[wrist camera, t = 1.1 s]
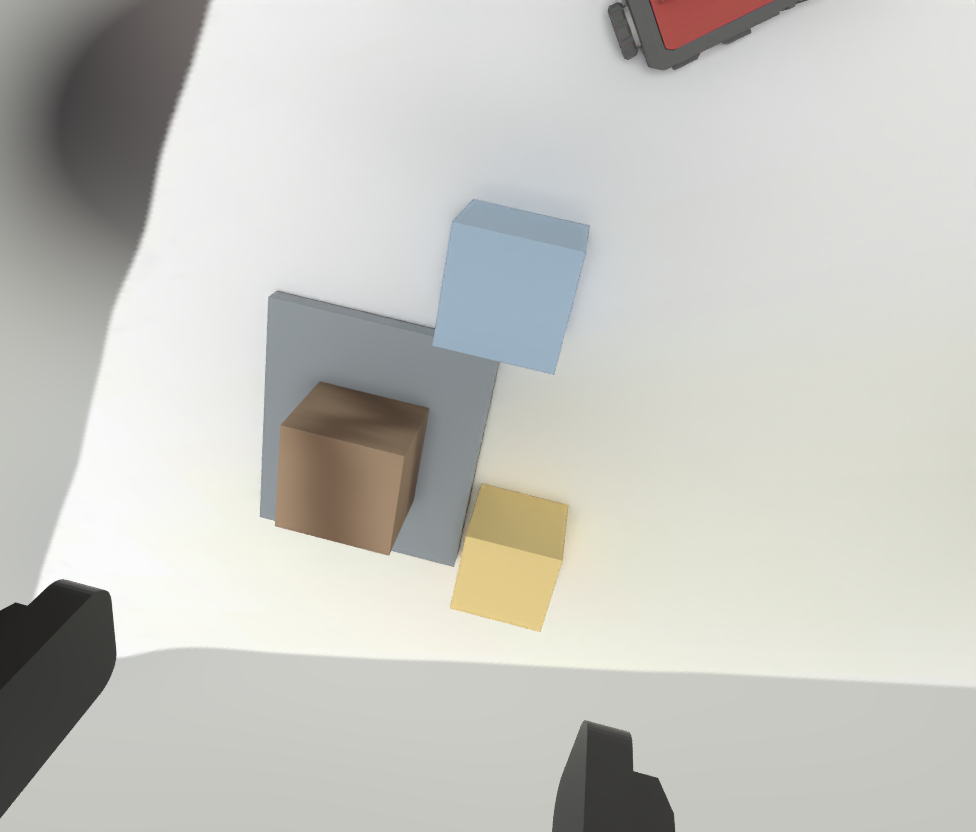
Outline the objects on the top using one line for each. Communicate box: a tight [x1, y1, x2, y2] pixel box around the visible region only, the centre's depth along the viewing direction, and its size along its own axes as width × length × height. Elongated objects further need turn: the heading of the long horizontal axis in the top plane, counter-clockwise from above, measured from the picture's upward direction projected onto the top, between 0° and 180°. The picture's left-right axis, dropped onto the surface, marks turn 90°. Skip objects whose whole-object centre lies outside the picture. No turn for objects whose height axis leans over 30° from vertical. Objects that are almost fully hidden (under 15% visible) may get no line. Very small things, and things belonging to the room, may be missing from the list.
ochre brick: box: [450, 484, 568, 632], centre depth 39 cm, size 5×5×5 cm
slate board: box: [260, 291, 499, 567], centre depth 39 cm, size 12×14×1 cm
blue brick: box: [432, 199, 589, 375], centre depth 32 cm, size 6×6×5 cm
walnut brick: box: [275, 381, 429, 555], centre depth 36 cm, size 6×6×5 cm
